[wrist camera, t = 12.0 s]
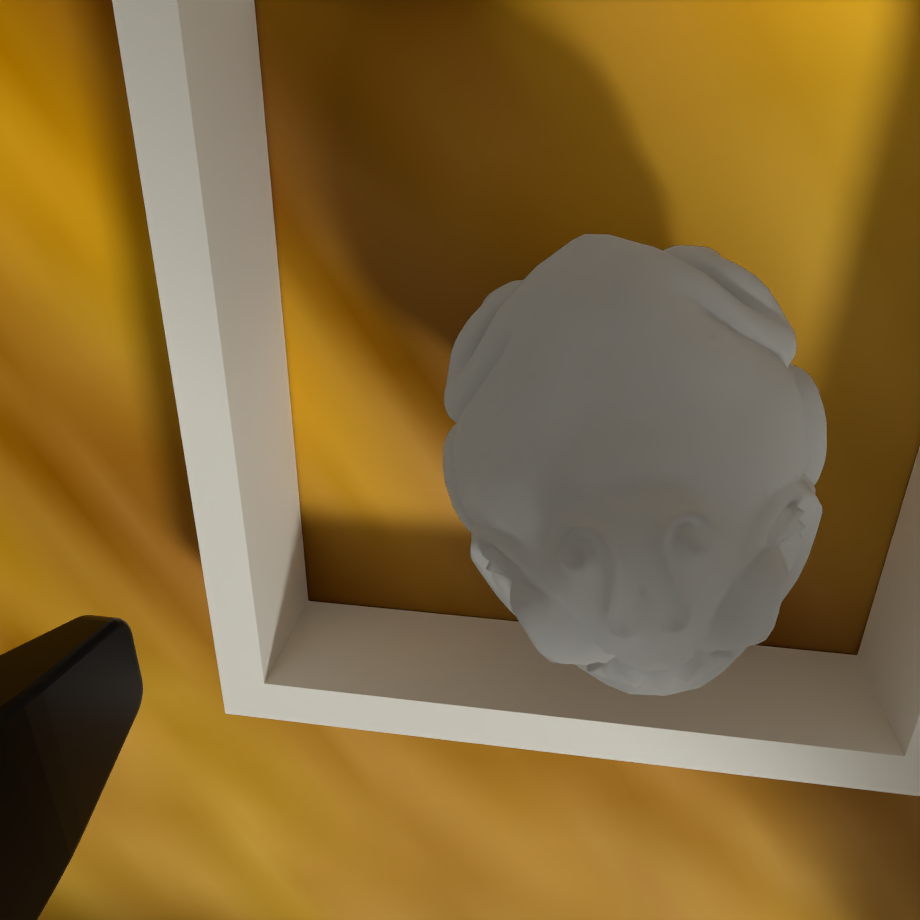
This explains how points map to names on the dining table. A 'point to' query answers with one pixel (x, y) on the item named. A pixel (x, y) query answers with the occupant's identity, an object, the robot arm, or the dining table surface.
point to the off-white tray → (409, 632)
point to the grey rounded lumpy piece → (635, 459)
